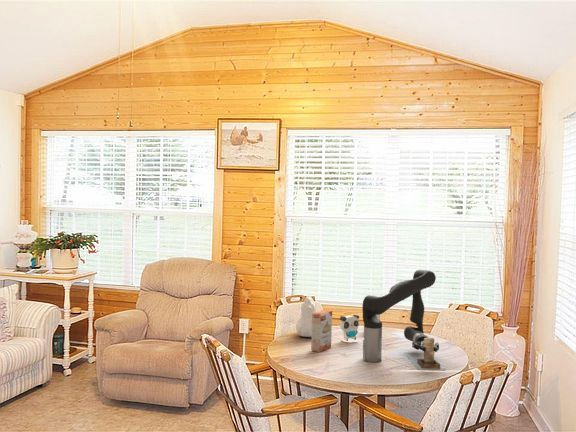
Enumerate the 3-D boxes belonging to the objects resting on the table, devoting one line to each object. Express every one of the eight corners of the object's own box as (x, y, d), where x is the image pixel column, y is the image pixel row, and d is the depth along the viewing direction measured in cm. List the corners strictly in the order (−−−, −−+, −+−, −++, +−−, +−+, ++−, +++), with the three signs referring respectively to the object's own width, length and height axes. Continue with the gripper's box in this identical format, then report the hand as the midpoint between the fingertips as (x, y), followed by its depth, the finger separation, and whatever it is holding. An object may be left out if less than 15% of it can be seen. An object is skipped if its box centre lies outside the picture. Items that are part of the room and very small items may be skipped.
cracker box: (320, 352, 291) (321, 314, 291) (310, 351, 294) (311, 313, 294) (332, 347, 303) (332, 310, 303) (322, 345, 306) (323, 309, 306)
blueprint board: (417, 370, 262) (417, 368, 262) (406, 357, 284) (406, 356, 284) (445, 370, 263) (445, 368, 263) (432, 358, 285) (432, 356, 285)
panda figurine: (346, 344, 311) (347, 318, 311) (335, 339, 321) (336, 314, 321) (363, 341, 317) (363, 316, 317) (351, 337, 327) (352, 313, 327)
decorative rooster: (319, 340, 318) (320, 298, 318) (293, 339, 321) (294, 297, 321) (324, 331, 343) (324, 292, 343) (299, 329, 346) (300, 291, 345)
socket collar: (421, 368, 263) (422, 364, 263) (417, 363, 272) (417, 359, 272) (440, 368, 263) (440, 364, 263) (434, 363, 272) (435, 359, 272)
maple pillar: (425, 364, 265) (425, 340, 265) (422, 361, 270) (422, 337, 270) (435, 364, 265) (435, 340, 265) (432, 361, 270) (432, 337, 270)
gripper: (408, 333, 282) (416, 342, 265) (435, 334, 282) (445, 342, 265) (407, 348, 282) (415, 357, 265) (435, 348, 282) (444, 357, 265)
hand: (430, 349), depth 265 cm, fingers closed on maple pillar, 5 cm apart
